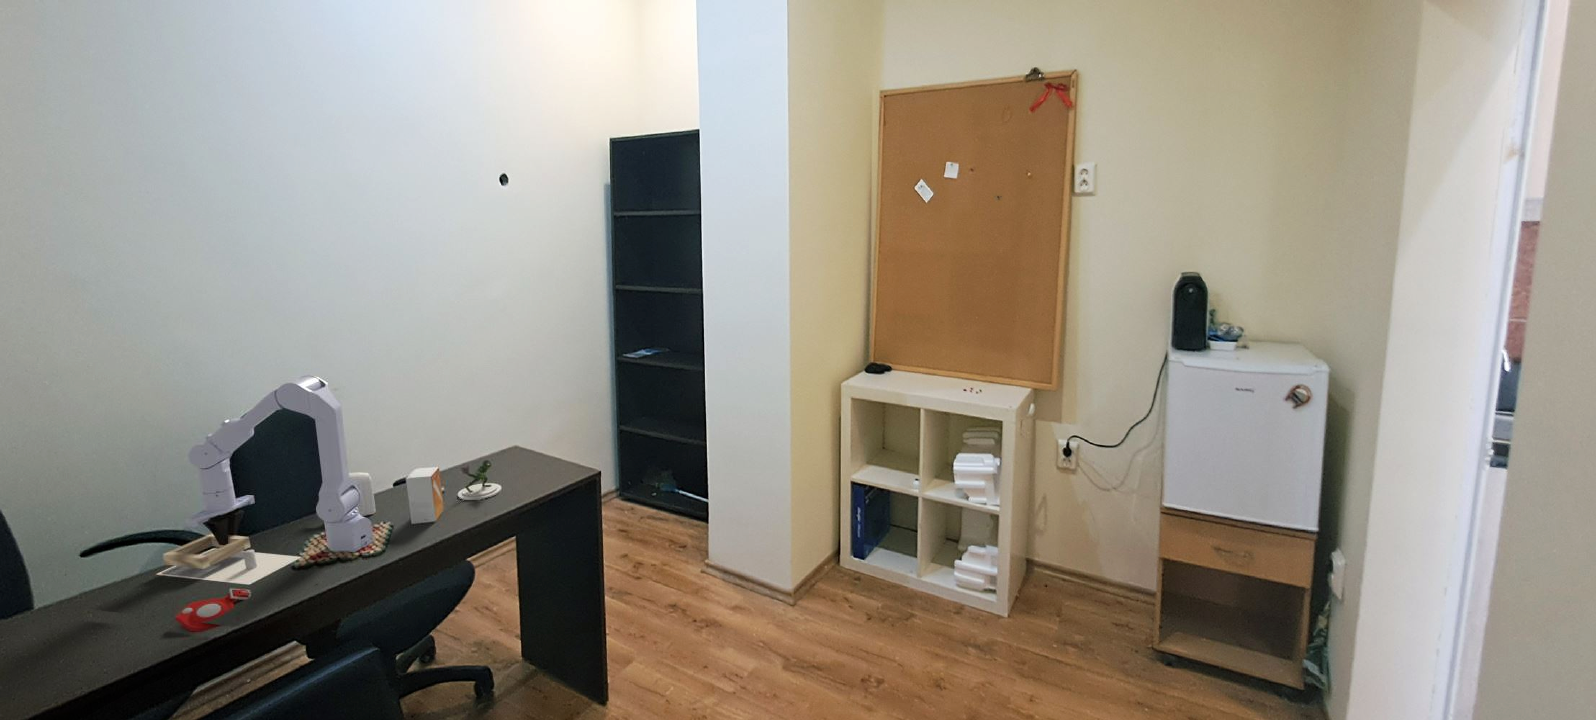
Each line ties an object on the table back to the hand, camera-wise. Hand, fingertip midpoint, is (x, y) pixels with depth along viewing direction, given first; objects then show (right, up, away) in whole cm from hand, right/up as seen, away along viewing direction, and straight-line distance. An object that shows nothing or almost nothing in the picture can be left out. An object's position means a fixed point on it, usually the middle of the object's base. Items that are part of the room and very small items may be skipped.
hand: (227, 542), depth 166 cm
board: (+5, -5, -5) cm, 9 cm away
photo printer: (+14, 0, +25) cm, 29 cm away
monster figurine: (+42, +4, +41) cm, 59 cm away
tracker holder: (+18, -9, -24) cm, 31 cm away
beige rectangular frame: (-1, -2, -5) cm, 5 cm away
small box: (+36, 0, +24) cm, 43 cm away
